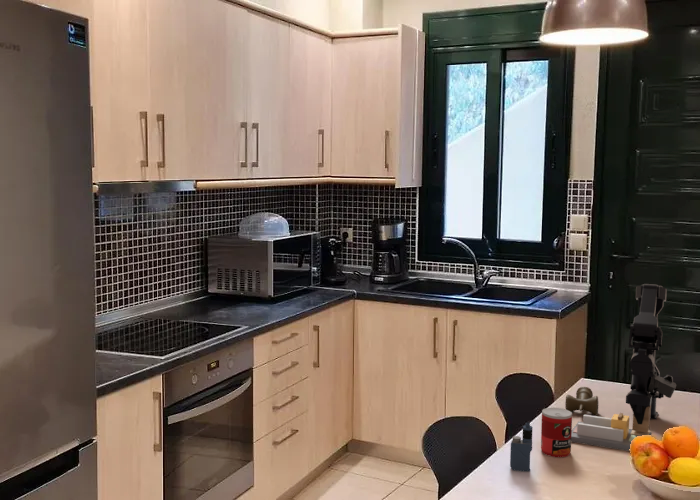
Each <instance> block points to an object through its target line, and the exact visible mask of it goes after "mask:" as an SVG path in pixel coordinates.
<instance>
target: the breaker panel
mask: <svg viewBox="0 0 700 500" xmlns="http://www.w3.org/2000/svg"><path fill="white" fill-rule="evenodd" d="M582 419H583V420H582V421H580V420H578V421H577V423H576V424H575V425H574V426H573V427H572V434H571V443H577V444H582V445H589V446H595V447H601V448H606V449H607V448H609V449H614V450H620V451H626V452H627V451H628V452H630V451H629V449H630V444H631V441H632V440H633V439H634V438H635V437H637V436H642V435H651V436H652V432H651V430H649V431H648V433H647V432H641V431H635V430H632V428H629V434H628V436H627V438H626V439H623V432H624V429H617V428H611V419H612V417H605V416H598V415H597V416H595V415H590V414H583V417H582Z"/></svg>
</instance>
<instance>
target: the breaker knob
mask: <svg viewBox="0 0 700 500" xmlns="http://www.w3.org/2000/svg"><path fill="white" fill-rule="evenodd" d="M611 418H612V419H611V428H617V429H624V432H623V439H626V438H627V436H628V434H629V429H630V415H624V412H620V413H619V414H617V413H613V415H612V416H611Z"/></svg>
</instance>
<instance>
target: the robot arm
mask: <svg viewBox="0 0 700 500" xmlns="http://www.w3.org/2000/svg"><path fill="white" fill-rule="evenodd" d="M667 291H668V290H667V288H666V287H663V286H662V285H658V284H649V283H644V284H641V285H637V286H636V288H635V299H636V301H638V302H637V305H638V308H639V314H637V315H636V316H634V318H633V322H632V324H630V327H629V336H628V337H629V339H628V349H633V350H632V356H631V359H630V360H629V361H630V362H629V366H630V375H631V385H630V391H629V392H627V394H626V395H625V403H626V404H628V405H629V406H630V409H631V411H632V414H633V413H634V416H635V418H636V421H637V423H638V424H642V422H643V418H644V414H645V410H646V407H648V406H650V405H651V413H650V420H657V417H658V415H659V411H657V399H660V400H661V399H662V398H664V397H666V398H668V399H671V398H672V396H673V395H674V392H675V390H676V387H677V384H676V383H677V382H674V377H673V376H672V375H670V374H666V375H665V376H664V377H663V376H661V373H660V370H659V369H658V367H657V365H656V351H659V350H660V349H659V348H660V347H662V343H663V342H662V340H663V331H662V328H661V327H660V326H659V319H658V314H660V312H661V311H662V309H663V308H664V304H665V303H664V302H667Z"/></svg>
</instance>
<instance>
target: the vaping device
mask: <svg viewBox="0 0 700 500" xmlns="http://www.w3.org/2000/svg"><path fill="white" fill-rule="evenodd" d="M532 451H533V426H532V425H531V423H530V422H525V425H522V437H521V436H518V435H514V436H512V440H511V443H510V453H509V454H510V455H509V456H510V457H509V458H510V459H509V466H510V469H511V471H513V472H515V471H516V472H517V471H518V472H530V471H531V469H530V468H531V452H532Z"/></svg>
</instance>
